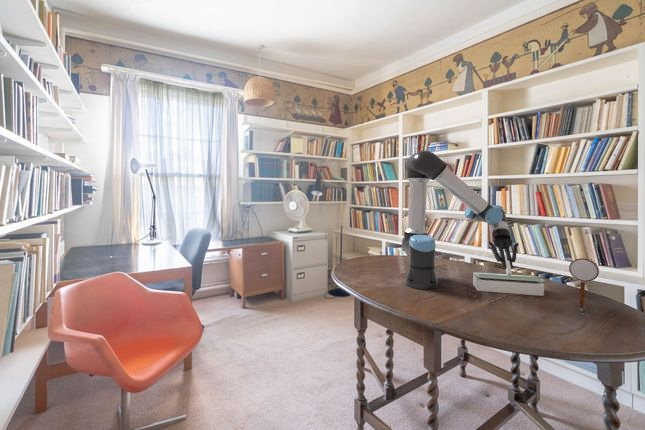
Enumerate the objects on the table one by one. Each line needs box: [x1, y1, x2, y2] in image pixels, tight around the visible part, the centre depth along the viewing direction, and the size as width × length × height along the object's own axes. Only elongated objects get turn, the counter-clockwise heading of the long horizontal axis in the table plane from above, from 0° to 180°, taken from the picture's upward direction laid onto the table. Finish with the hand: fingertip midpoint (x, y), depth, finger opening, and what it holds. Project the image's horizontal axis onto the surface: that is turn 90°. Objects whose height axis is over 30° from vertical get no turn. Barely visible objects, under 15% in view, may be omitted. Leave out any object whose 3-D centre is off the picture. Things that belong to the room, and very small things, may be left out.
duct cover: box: [472, 271, 545, 283], centre depth 141 cm, size 26×10×1 cm, turn 74°
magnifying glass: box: [568, 257, 600, 311], centre depth 116 cm, size 9×2×20 cm, turn 39°
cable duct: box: [472, 274, 545, 297], centre depth 142 cm, size 26×10×5 cm, turn 74°
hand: (509, 274), depth 138 cm, fingers closed
